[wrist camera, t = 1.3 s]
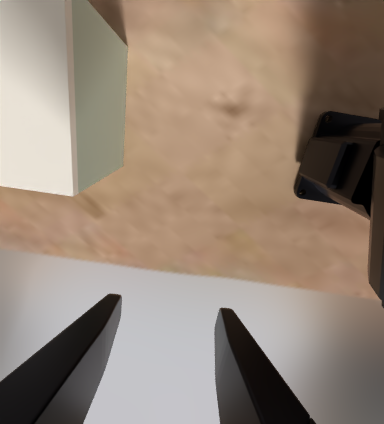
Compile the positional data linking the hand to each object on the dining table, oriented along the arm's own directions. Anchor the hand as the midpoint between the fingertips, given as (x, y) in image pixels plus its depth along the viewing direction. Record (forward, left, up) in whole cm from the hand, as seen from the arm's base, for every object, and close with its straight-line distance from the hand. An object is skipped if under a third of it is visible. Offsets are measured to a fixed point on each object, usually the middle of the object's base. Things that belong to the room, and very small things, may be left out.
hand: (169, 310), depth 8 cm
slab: (+7, -6, -12) cm, 15 cm away
